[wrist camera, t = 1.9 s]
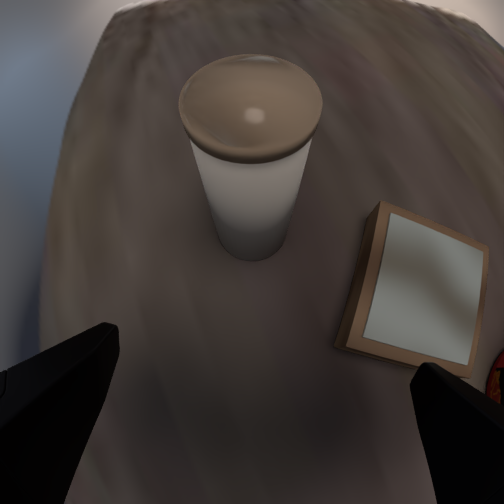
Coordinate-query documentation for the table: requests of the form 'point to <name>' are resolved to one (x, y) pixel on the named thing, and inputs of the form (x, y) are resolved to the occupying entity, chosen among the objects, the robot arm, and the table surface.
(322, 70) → the table surface
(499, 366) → the canned food
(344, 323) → the plinth
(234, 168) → the tumbler
